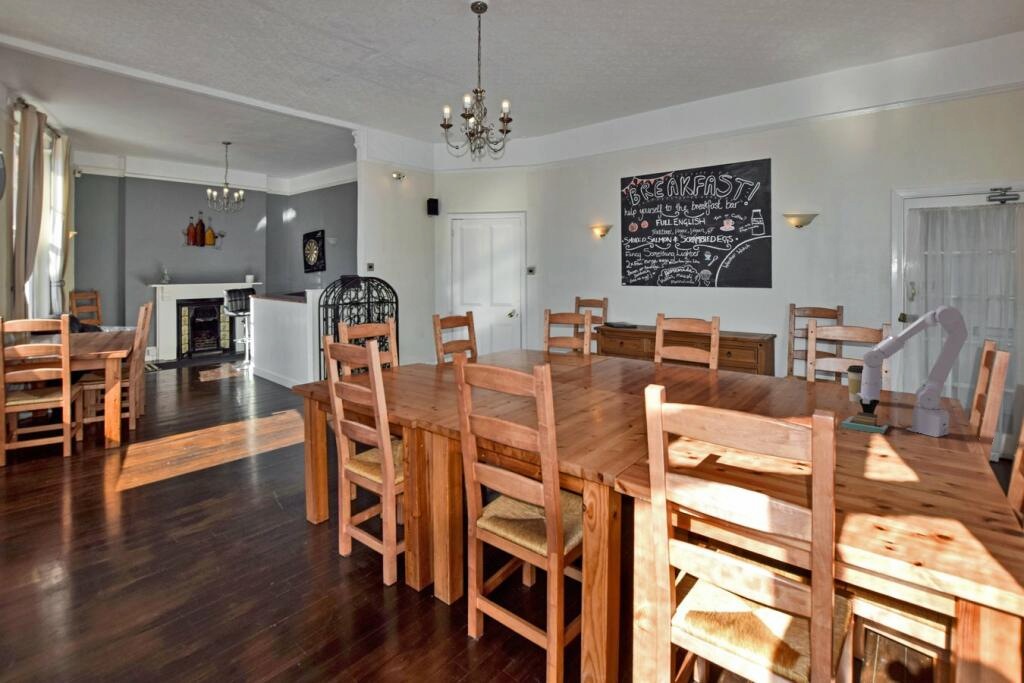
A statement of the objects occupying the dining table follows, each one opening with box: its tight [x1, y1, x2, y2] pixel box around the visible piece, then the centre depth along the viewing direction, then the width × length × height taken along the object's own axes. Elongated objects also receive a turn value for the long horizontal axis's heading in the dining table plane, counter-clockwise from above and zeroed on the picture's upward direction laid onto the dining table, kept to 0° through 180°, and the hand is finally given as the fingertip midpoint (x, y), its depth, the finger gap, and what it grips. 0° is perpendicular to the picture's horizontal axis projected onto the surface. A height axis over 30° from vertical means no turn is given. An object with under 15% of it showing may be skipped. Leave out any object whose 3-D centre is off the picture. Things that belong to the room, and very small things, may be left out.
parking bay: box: [840, 415, 891, 435], centre depth 190 cm, size 14×12×2 cm
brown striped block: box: [853, 411, 879, 427], centre depth 189 cm, size 7×6×4 cm
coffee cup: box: [846, 364, 864, 404], centre depth 225 cm, size 10×10×15 cm
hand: (867, 419), depth 193 cm, fingers closed
